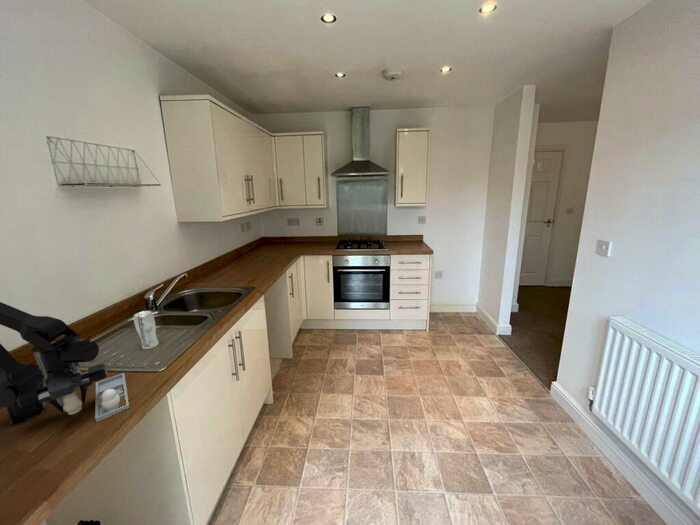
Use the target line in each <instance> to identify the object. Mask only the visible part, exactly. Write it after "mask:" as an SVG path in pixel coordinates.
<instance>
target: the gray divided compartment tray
mask: <svg viewBox="0 0 700 525" xmlns="http://www.w3.org/2000/svg"><path fill="white" fill-rule="evenodd" d="M122 387H123V388H124V394H121V395H119V394H120V393H122V392H123V390H122ZM107 389H114V390H116V392H117V394H118V395H119V396H120V399H122V398H124V397H125V400H126V405H125V406H122V407H120V408H117V409H115V410H112V411H110V412H107V411H106V409H105V408H103V407H102V405H101V402H102V399H101V395H102V393H103V392H104V391H105V390H107ZM120 389H121V390H122V391H121V390H120ZM128 400H129V395H128V388H127V382H126V375H125V372H122V373H119V374H117V375H114V376H110V377H108V378H106V379H105V378H104V379H101V380H98V381H95V403H94V404H95V408H94V409H95V410H94V412H95V414H94V419H95V422H96V423H98V422H101V421H103V420H105V419H108V418H110V417H112V415H113V416H115V415H117V414H119V412H120V413H122V412H124V411H123V410H125V409H127V410H129V409H130V408H129V407H130V400H129V401H128ZM128 408H129V409H128ZM121 411H122V412H121ZM125 411H126V410H125ZM116 413H117V414H116Z"/></svg>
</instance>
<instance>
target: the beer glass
mask: <svg viewBox="0 0 700 525" xmlns="http://www.w3.org/2000/svg"><path fill="white" fill-rule="evenodd" d="M133 322H134V327H135V330H136V331H137V335H138V336H139V338H140V340H141V348H142V349H143V350H149V349H150V350H151V349H153V348H155V347H157V346H158V345H159V344H160V343H159V342H160V341H159V340H158V338H157V334H156V329H157V328H156V321H155V316H154V314H153V310H142V311H139V312H137V313H135V314H133Z"/></svg>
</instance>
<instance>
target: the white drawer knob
mask: <svg viewBox="0 0 700 525" xmlns="http://www.w3.org/2000/svg"><path fill="white" fill-rule="evenodd" d="M101 399H102V402H101V405H102V407H103V408H105V409H106V411H107V412H110V411H112V410H115V409H117V408H118V407H119V402H120V396H119V395H118V394H117V392H116V390H114V389H107V390H105V391H104V392H103V393H102V395H101Z"/></svg>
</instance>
